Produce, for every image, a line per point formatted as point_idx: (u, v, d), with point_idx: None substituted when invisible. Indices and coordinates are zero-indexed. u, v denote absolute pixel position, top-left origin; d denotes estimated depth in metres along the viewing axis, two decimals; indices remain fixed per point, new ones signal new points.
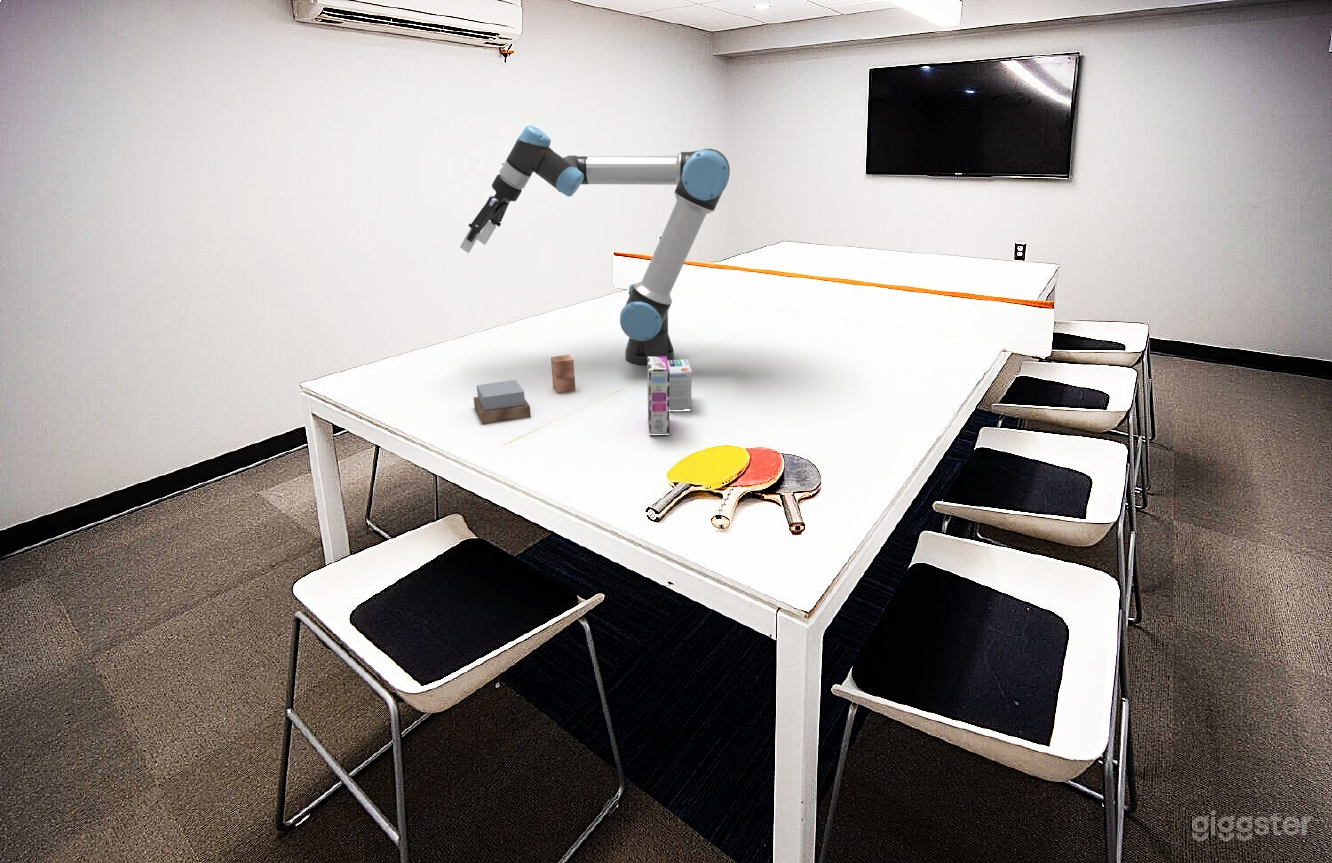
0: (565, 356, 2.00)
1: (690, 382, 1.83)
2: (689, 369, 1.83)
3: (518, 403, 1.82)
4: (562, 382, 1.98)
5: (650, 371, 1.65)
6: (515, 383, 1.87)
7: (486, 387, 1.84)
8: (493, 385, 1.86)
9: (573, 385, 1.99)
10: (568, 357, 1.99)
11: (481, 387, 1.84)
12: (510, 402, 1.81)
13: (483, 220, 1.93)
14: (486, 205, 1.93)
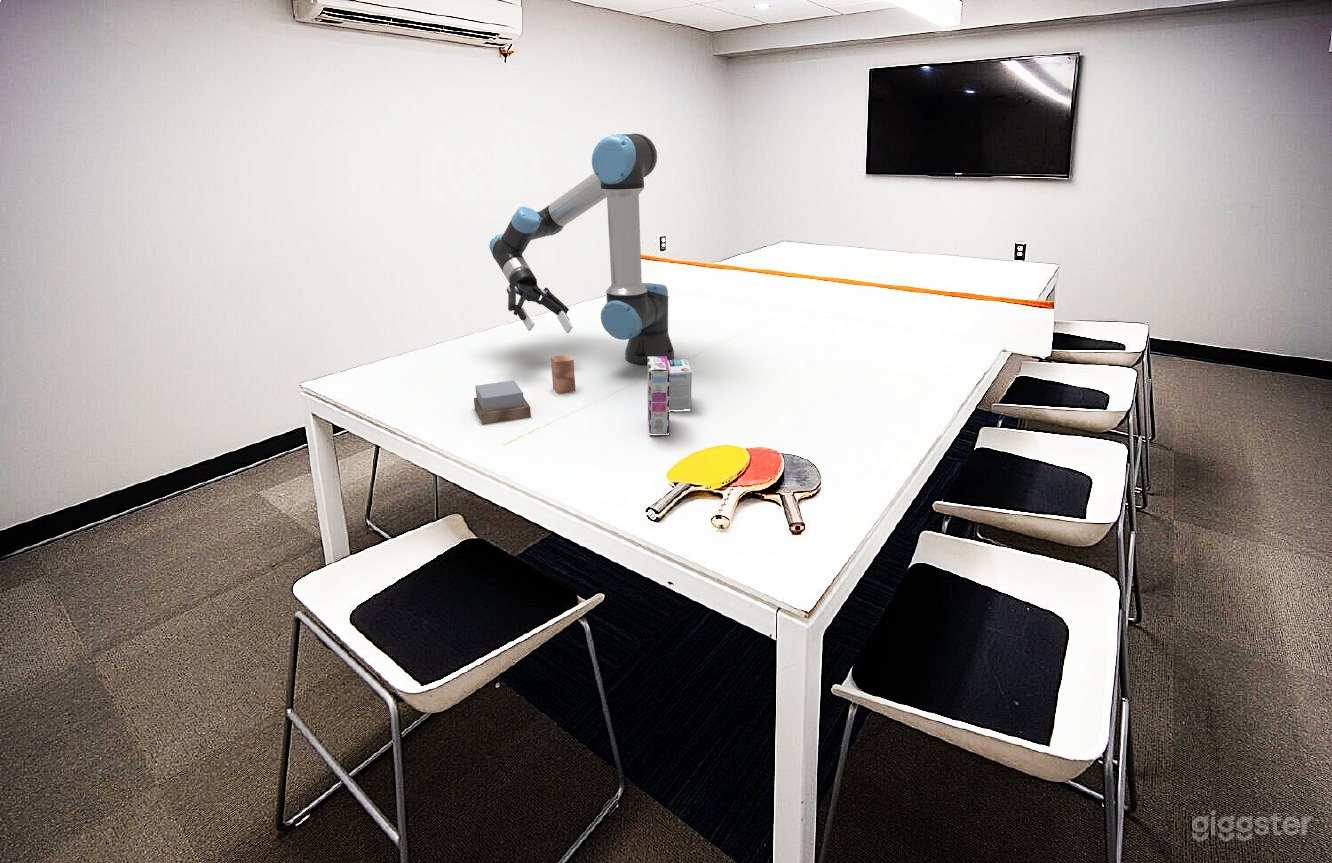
0: (565, 356, 2.00)
1: (690, 382, 1.83)
2: (689, 369, 1.83)
3: (517, 404, 1.82)
4: (562, 382, 1.98)
5: (650, 371, 1.65)
6: (514, 383, 1.87)
7: (485, 388, 1.84)
8: (492, 385, 1.86)
9: (573, 385, 1.99)
10: (568, 357, 1.99)
11: (480, 388, 1.84)
12: (509, 403, 1.81)
13: (511, 297, 2.04)
14: (509, 294, 2.07)
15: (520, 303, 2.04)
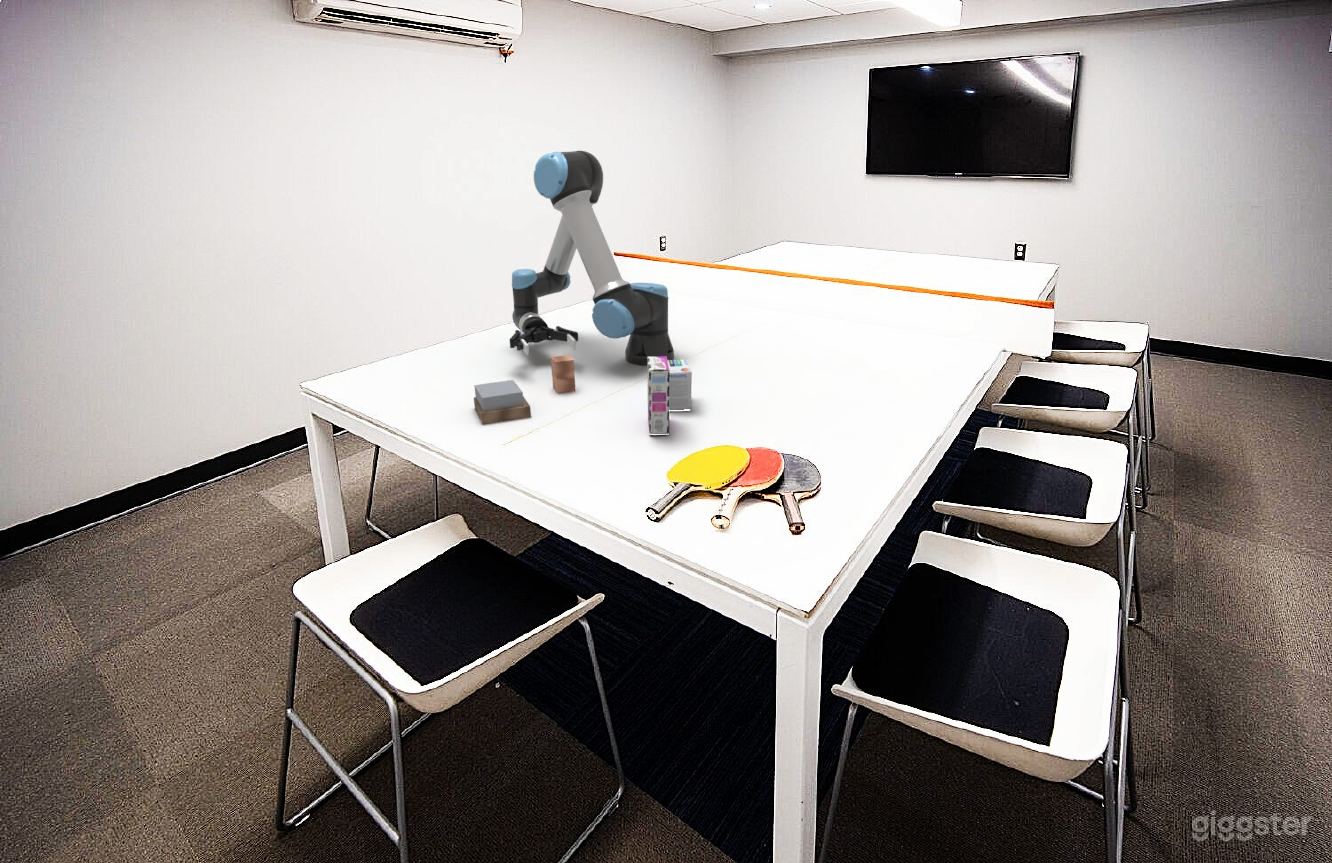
0: (565, 356, 2.00)
1: (690, 382, 1.83)
2: (689, 369, 1.83)
3: (517, 403, 1.82)
4: (562, 382, 1.98)
5: (650, 371, 1.65)
6: (513, 383, 1.87)
7: (484, 388, 1.84)
8: (491, 385, 1.86)
9: (573, 385, 1.99)
10: (568, 357, 1.99)
11: (479, 387, 1.84)
12: (509, 402, 1.81)
13: None
14: None
15: (519, 338, 2.10)
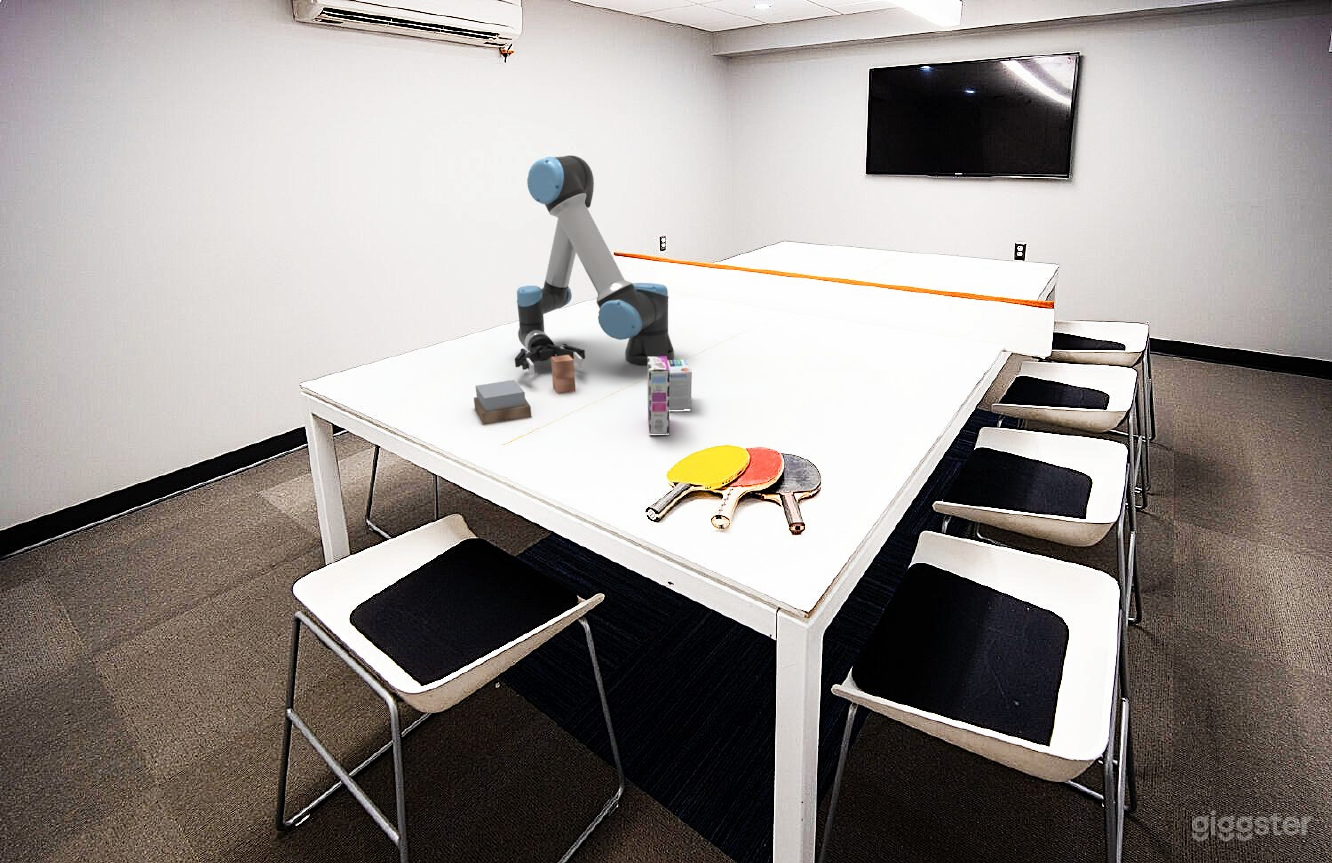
0: (565, 356, 2.00)
1: (690, 382, 1.83)
2: (689, 369, 1.83)
3: (519, 403, 1.82)
4: (562, 382, 1.98)
5: (650, 371, 1.65)
6: (515, 383, 1.87)
7: (486, 388, 1.84)
8: (493, 385, 1.86)
9: (573, 385, 1.99)
10: (568, 357, 1.99)
11: (481, 388, 1.84)
12: (511, 402, 1.81)
13: None
14: None
15: (525, 357, 2.05)
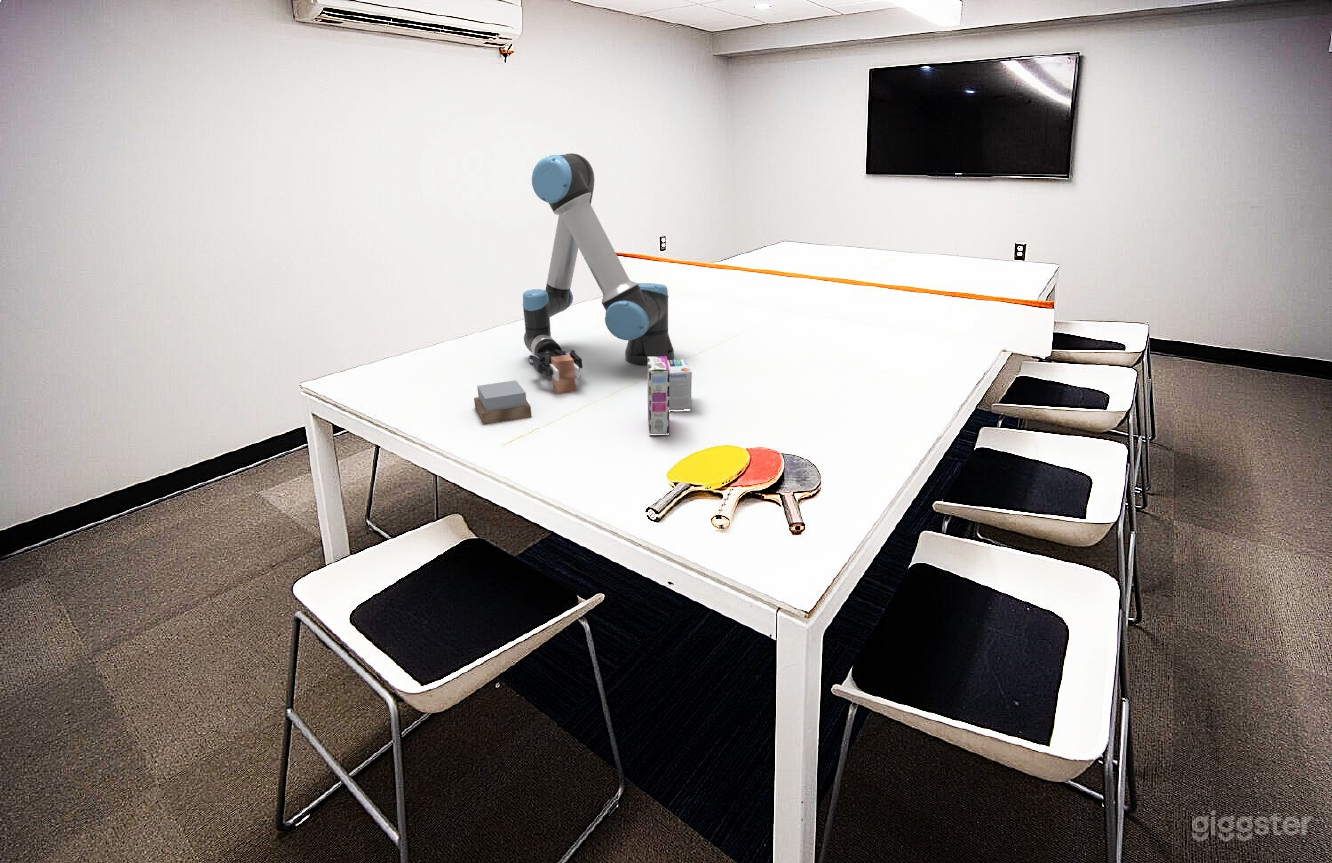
0: (565, 355, 2.00)
1: (690, 382, 1.83)
2: (689, 369, 1.83)
3: (520, 404, 1.82)
4: (562, 382, 1.98)
5: (650, 371, 1.65)
6: (516, 383, 1.87)
7: (487, 388, 1.84)
8: (494, 385, 1.86)
9: (573, 385, 1.99)
10: (568, 357, 1.99)
11: (482, 388, 1.84)
12: (512, 403, 1.81)
13: (535, 363, 2.01)
14: (533, 364, 2.05)
15: (546, 363, 2.00)
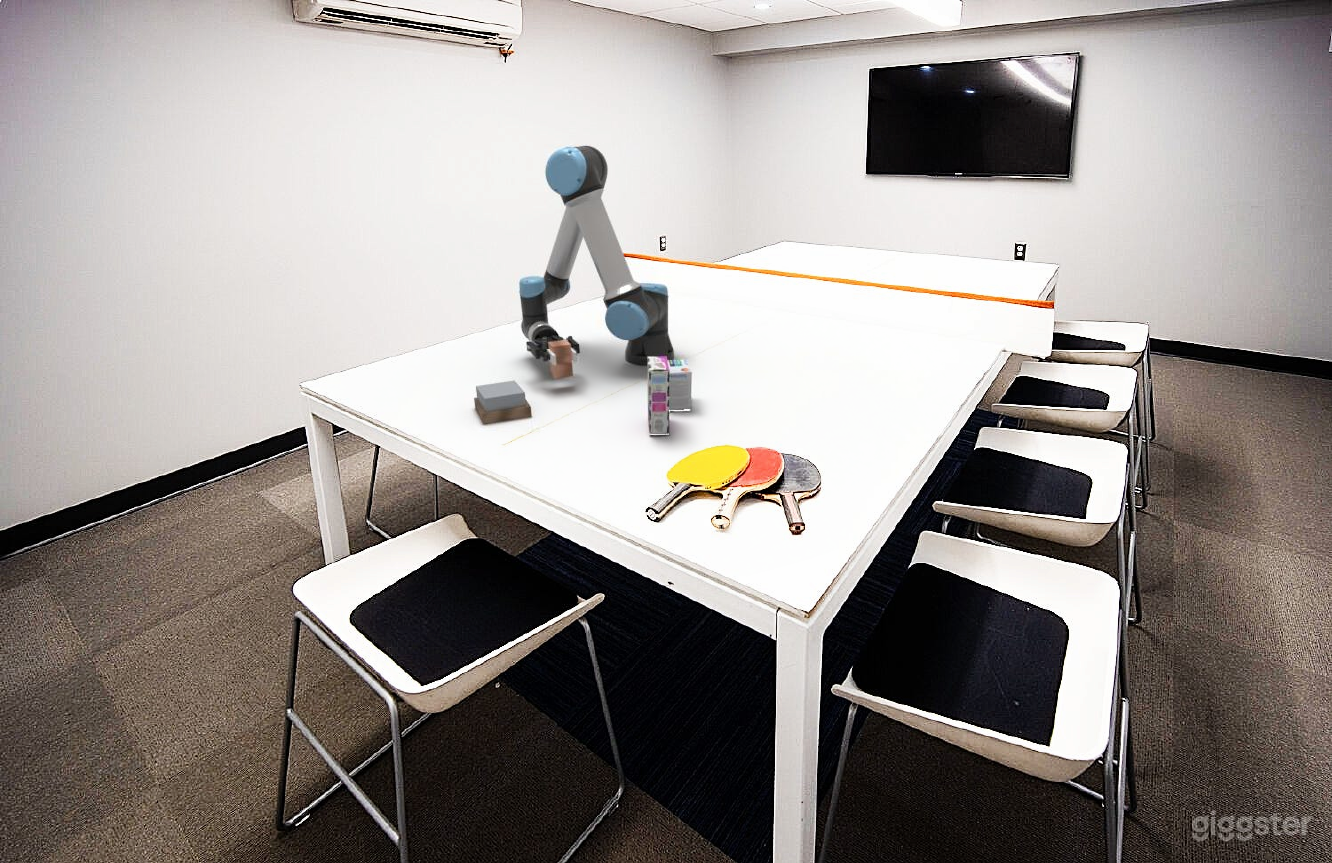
0: (562, 340, 1.98)
1: (690, 382, 1.83)
2: (689, 369, 1.83)
3: (519, 404, 1.82)
4: (559, 367, 1.96)
5: (650, 371, 1.65)
6: (515, 383, 1.87)
7: (486, 388, 1.84)
8: (493, 386, 1.86)
9: (571, 370, 1.98)
10: (565, 342, 1.97)
11: (481, 388, 1.84)
12: (511, 403, 1.81)
13: (532, 348, 2.00)
14: (530, 350, 2.03)
15: (543, 348, 1.98)
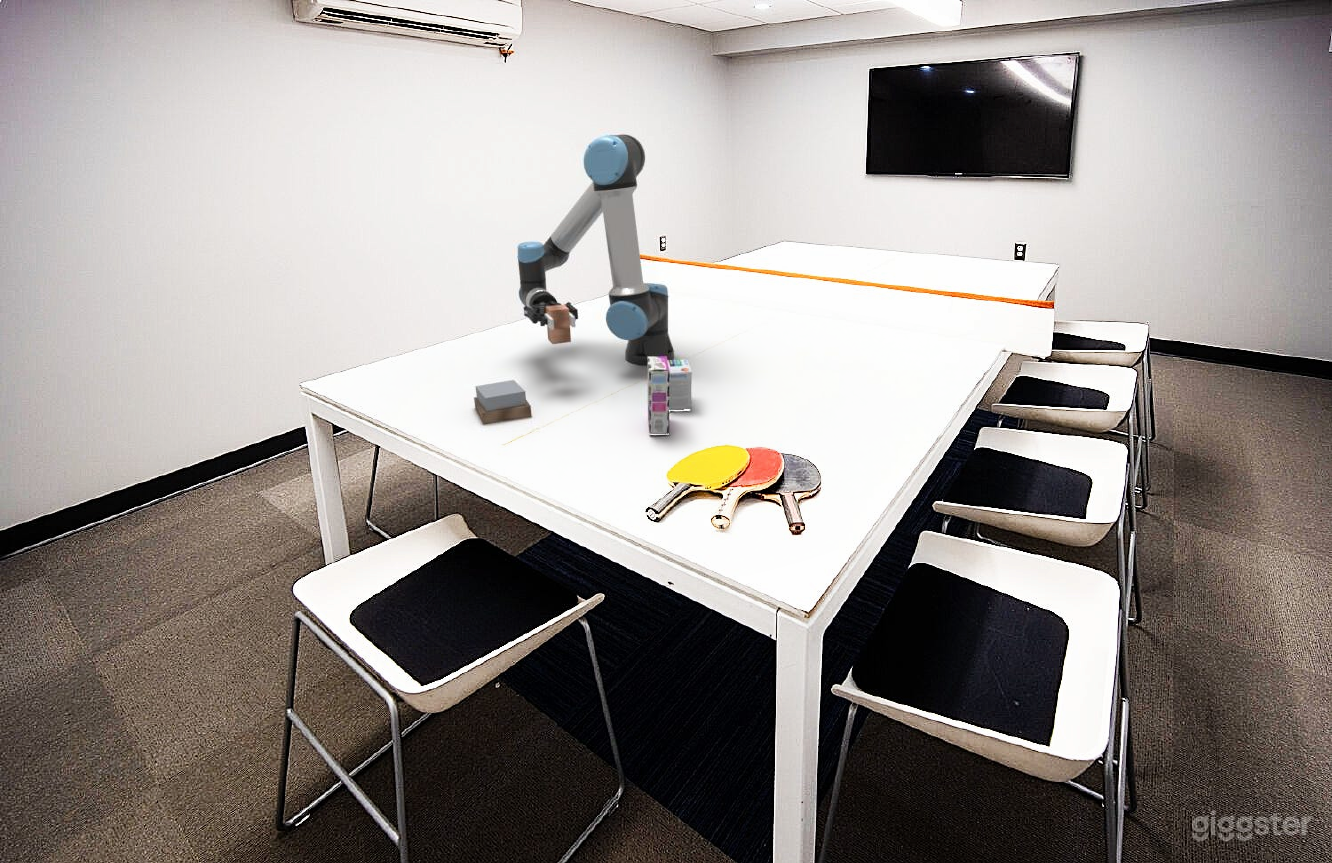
0: (560, 305, 1.94)
1: (690, 382, 1.83)
2: (689, 369, 1.83)
3: (519, 403, 1.82)
4: (557, 332, 1.92)
5: (650, 371, 1.65)
6: (514, 383, 1.87)
7: (486, 388, 1.84)
8: (493, 385, 1.86)
9: (568, 335, 1.94)
10: (563, 306, 1.93)
11: (481, 388, 1.84)
12: (511, 402, 1.81)
13: (530, 313, 1.95)
14: (527, 315, 1.99)
15: (541, 312, 1.94)
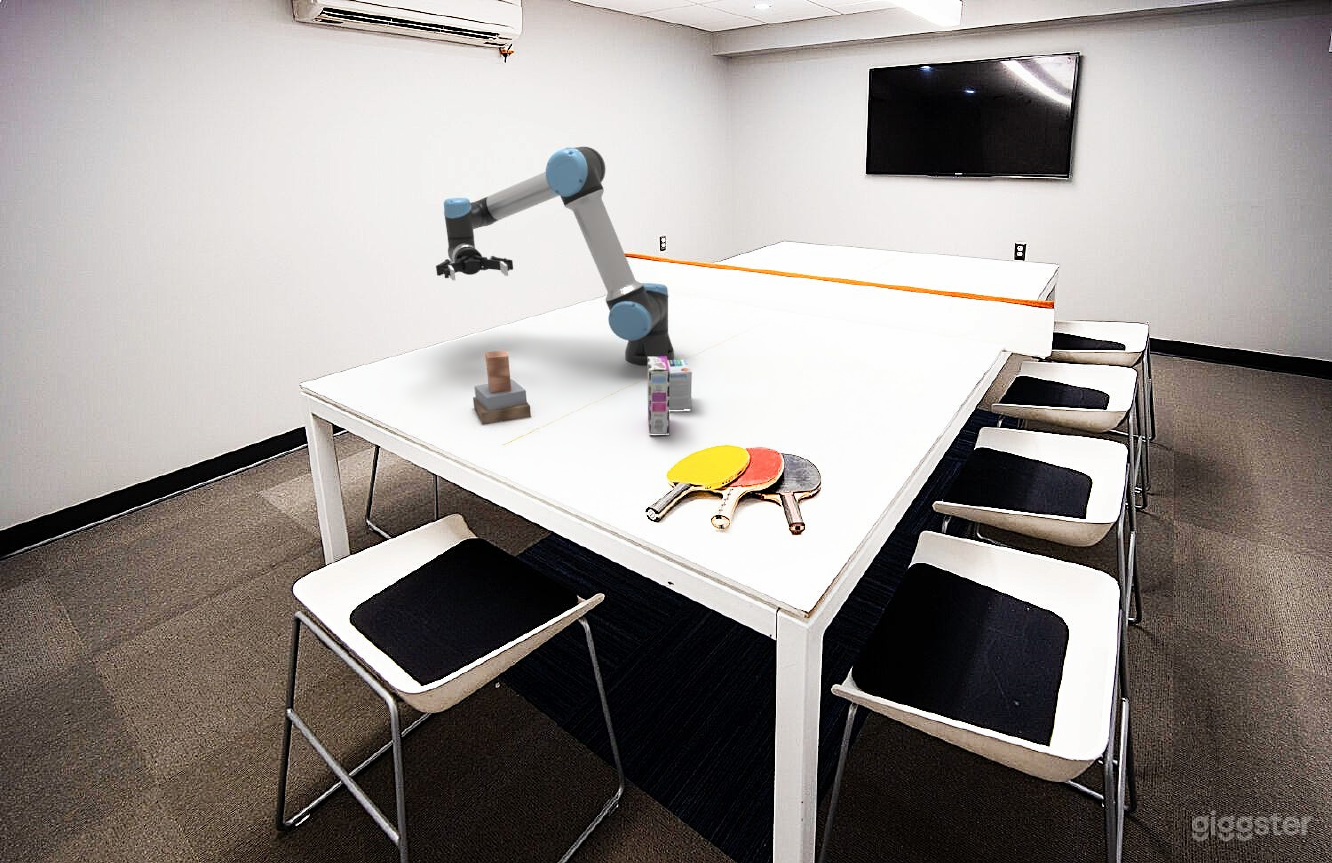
0: (501, 351, 1.82)
1: (690, 382, 1.83)
2: (689, 369, 1.83)
3: (520, 402, 1.83)
4: (495, 380, 1.80)
5: (650, 371, 1.65)
6: (513, 382, 1.88)
7: (485, 388, 1.84)
8: None
9: (508, 384, 1.81)
10: (503, 353, 1.81)
11: (480, 388, 1.84)
12: (512, 401, 1.82)
13: None
14: None
15: (447, 265, 1.94)
